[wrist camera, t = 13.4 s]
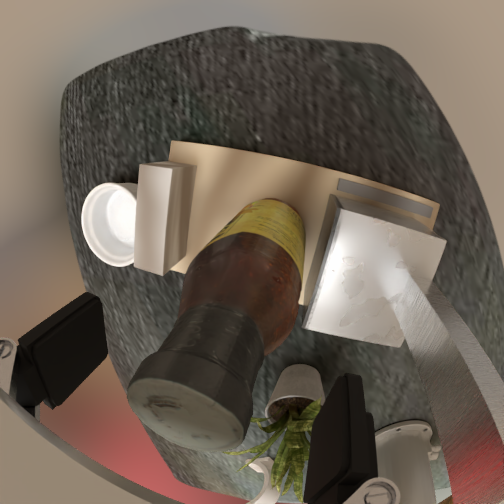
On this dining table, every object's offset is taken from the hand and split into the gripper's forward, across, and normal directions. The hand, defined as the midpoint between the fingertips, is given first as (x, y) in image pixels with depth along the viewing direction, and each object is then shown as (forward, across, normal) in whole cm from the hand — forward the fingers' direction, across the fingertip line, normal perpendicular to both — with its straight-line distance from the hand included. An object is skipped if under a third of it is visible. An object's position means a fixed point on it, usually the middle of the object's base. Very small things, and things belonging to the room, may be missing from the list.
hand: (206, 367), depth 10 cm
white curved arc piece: (+20, -8, +43) cm, 49 cm away
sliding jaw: (+17, -8, -1) cm, 19 cm away
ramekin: (+19, +16, +2) cm, 25 cm away
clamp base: (+19, -2, -1) cm, 19 cm away
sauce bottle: (+18, 0, -1) cm, 18 cm away
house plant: (+20, -8, +18) cm, 28 cm away
